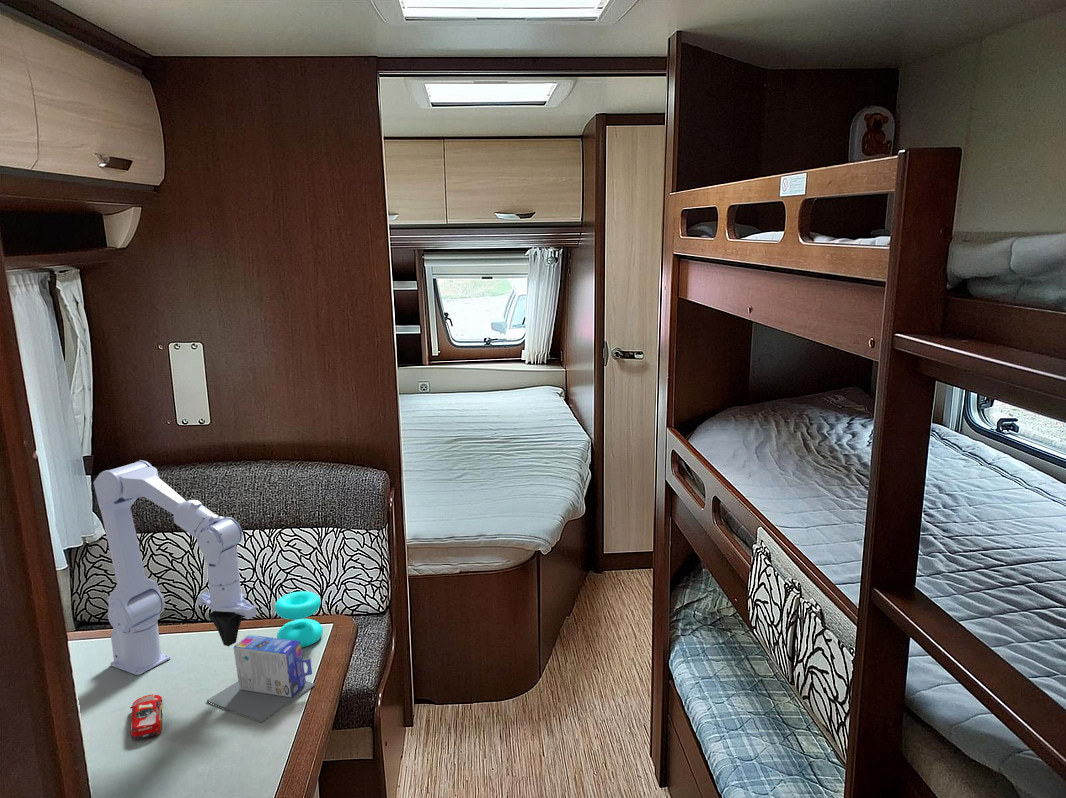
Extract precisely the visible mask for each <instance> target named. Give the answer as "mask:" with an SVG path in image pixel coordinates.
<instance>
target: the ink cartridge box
mask: <svg viewBox="0 0 1066 798" xmlns="http://www.w3.org/2000/svg"><path fill="white" fill-rule="evenodd" d="M302 650H303V649H302V647H301V642H300V641H295V640H286V639H278V638H277V637H268V636H260V635H255V634H254V635H252V634H248V635H246V636H245V637H244V638H242V639H241V640H240V641H239V642H237V643H235V645H234V646H233V654H234V661H235V666H236V676H237V679H238V680H237V682H239V688H240V689H242V690H248V691H254V692H260V693H267V694H273V695H279V696H285V697H291V698H292V697H293V696H294V695H295V694H296V693H297V692H298V691H299V690H300V689H301V688H302V687H303V686H304V684H305V683H306V681H307V679H306V677H308V676H311V675H313V669H312V661H311V658H303V652H302ZM304 663H306V666H307V669H306V672H305V666H304Z"/></svg>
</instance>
